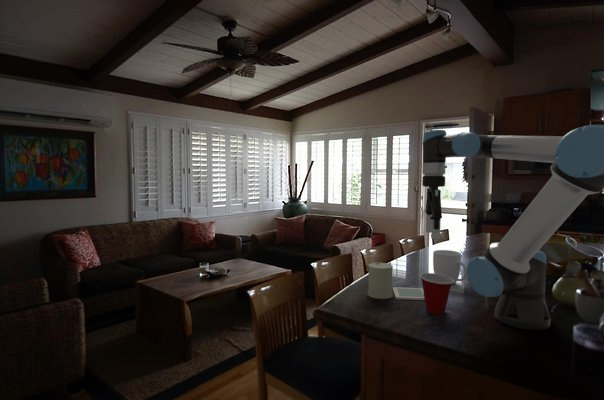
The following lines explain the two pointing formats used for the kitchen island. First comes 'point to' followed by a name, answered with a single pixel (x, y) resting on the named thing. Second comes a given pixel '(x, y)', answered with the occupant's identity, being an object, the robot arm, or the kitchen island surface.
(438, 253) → the mug
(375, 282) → the can
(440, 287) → the plastic cup
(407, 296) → the square picture frame
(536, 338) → the kitchen island surface
